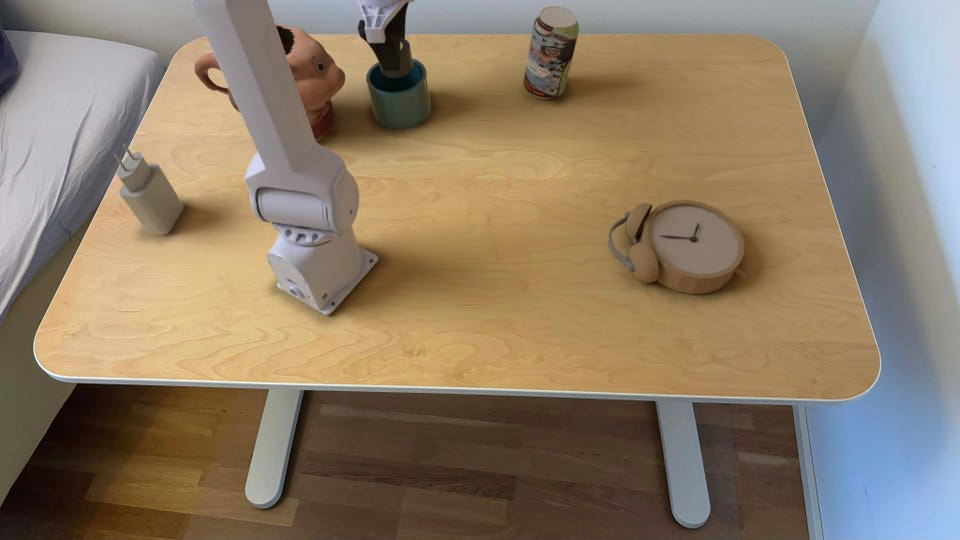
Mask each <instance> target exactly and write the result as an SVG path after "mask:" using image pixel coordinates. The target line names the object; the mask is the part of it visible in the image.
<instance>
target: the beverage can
mask: <svg viewBox="0 0 960 540" xmlns="http://www.w3.org/2000/svg"><path fill="white" fill-rule="evenodd" d="M579 33H580V26H579V23H578V16H577V15H576V13H574V12H573V10H571V9H569V8H566V7H562V6H557V5H555V6H551V5H550V6H547V7H544V8H543V9H541V11H540V12H539V14H538V15H537V16H536V18H535V19H534V22H533V27H532V33H531V38H530V44H529V48H528V55H527V60H526V66H525V71H524V77H523V86H524V88H525V90H526V91H527V92H528V93H530V94H531V95H533V96H534V97H535V98H539V99H543V100H550V99H554V98H558V97H560V96H561V95H562V94H564V92H565V91H566V86H567V83H568V79H569V75H570V71H571V66H572V61H573V57H574V53H575V49H576V45H577V41H578V37H579Z"/></svg>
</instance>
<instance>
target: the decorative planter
mask: <svg viewBox="0 0 960 540" xmlns="http://www.w3.org/2000/svg"><path fill="white" fill-rule="evenodd" d="M275 25H276V28H277V31H278V33H279V36H280V39H281V42H282V45H283V48H284V51H285V54H286V57H287V60H288V62H289V65H290V68H291V71H292V74H293V77H294V80H295V83H296V86H297V88H298V91H299V94H300V97H301V100H302V103H303V106H304V109H305V112H306V115H307V117H308V120H309V123H310V126H311V129H312V132H313V135H314V138H315V141H316V142H318V141H320V140H321V139H323V137H325V136H326V135H327V134H328V133H329V132H330V130H331V129H332V127H333V125H334V119H335V112H334V107H333V103H332V101H331V99H332V98H333V97H334V96H335V95H336V94H338V92H340V91H341V90H342V88H343V87H344V86H345V84H346V73H345V72H344V70H343V69H342V68H340V67H339V66H337V64H336V62H335V60H334V58H333V56H331V54H329V53H328V52H327V50H326V49H325V47H324V45H322V43H320V42H319V41H318V40H316V39H314V38H313V37H312V36H311V35H310V34H308V32H306V31H305V30H303V29H302V28H299V27H293V26H289V25H284V24H279V23H275ZM210 69H216V70H218V71H221V69H220V67H219V64H218V62H217V60H216V58H215V55H214V53H213V52H209V53H205V54H203V55H202V54H201V56H199V57H197V59H196V60H195V62H194V74H195V75H196V77H197V78H198V79H199V80H200V82H201V83H202V84H203V85H204V86H205V87H206V88H208V89H209V90H211V91H213V92H215V91H216V92H219V93H221V94H225V95H226V96H228V100H229V102H230V104H231V105H232V107H233V108H234V110H236V111H237V112H238V113H239V114H241V113H240V111H239V109H238V107H237V104H236V102H235V100H234V98H233V96H232V93H231V91H230V89H229V87H228V86H227V87H223V86H219V85H218V84H216V83H214V81H213V80H212V79H211V78H210V77H209V70H210Z"/></svg>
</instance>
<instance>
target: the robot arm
mask: <svg viewBox="0 0 960 540" xmlns="http://www.w3.org/2000/svg"><path fill="white" fill-rule="evenodd" d="M189 1H190V4H191V6H192V9H193V11H194V14H195V15H196V17H197V20H198V22H199V24H200V26H201V29H202V31H203V33H204V36H205V38H206V40H207V42H208V44H209V46H210V49H211V51H212V53H214V55H215V58H216V60H217V62H218V64H219V67H220V69H221V70H220V71H221V73H222V75H223V77H224V80H225V82H226V85H227V88H228V87H229V89H230V91H231V93H232V96H233V98H234V100H235V102H236V104H237V107H238V109H239V111H240V113H239V114H240V116H241V118H242V119H243V122H244V125H245V127H246V129H247V131H248V134H249V136H250V138H251V140H252V142H253V144H254V146H255V149H256V151H257V152H256V153H255V154H254V156H253V157H252V159H251V161H250V162H249V164H248V167H247V170H246V172H245V176H244V181H245V183H246V186H247V188H248V192H249V203H250V207H251V210H252V212H253V214H254V216H255V218H256V219H257V220H258V221H260V222H262V223H268V224H269V223H271V226H272V228H273V230H274V231H276V232H279V233H278V236H277V239H276V241H275V242H274V244H273V246H271V248H269V251H268V252H267V254H266V259H267V262H268V264H269V266H270V268H271V270H272V272H273V273H274V274H273V275H274V276H275V278H276V279H277V284H276V285H277V288H278V289H279V290H281V291H283V292H285V293H286V294H288V295H289V296H292V297H293V298H295V299H297V300H299V301H300V302H302V303H304V304H305V305H307V306H309V307H310V308H312V309H314V310H316V311H317V312H319V313H321V314H323V315H325V316H329V315H331V314H332V313H333V312H334V311H335V310H336V309H337V308H338V307H339V305H340V304H341V303H342V302H343V301H344V300H345V299H346V298H347V297H348V296H349V295H350V293H351V292H352V291H353V290H354V289H355V288H356V286H357V285H358V284H360V282H361V281H362V280H363V279H364V278H365V276H366V275H368V273H370V271H371V270H372V268H373V267H374V266H376V264H377V263H378V262H379V259H380V258H379V256H378V255H377V254H375V253H373V252H371V251H369V250H367V249H365V248H364V247H361V246H359V244H358V241H357V238H356V235H355V231H354V229H353V224H354V223H355V221H356V218H357V215H358V211H359V207H360V206H359V205H360V189H359V185H358V182H357V181H356V179H355V177H354V176H353V174H352V173H351V172H349V170H348V169H347V165H346V163H345V159H343V158H342V157H340V156H339V155H337V154H336V153H334V152H332V151H331V150H330V149H328V148H326V147H325V146H323V145H322V144H320V143H318V141H315V138H314V135H313V132H312V129H311V126H310V123H309V120H308V117H307V115H306V112H305V109H304V106H303V103H302V100H301V97H300V94H299V91H298V88H297V86H296V83H295V80H294V77H293V74H292V71H291V68H290V65H289V62H288V60H287V57H286V54H285V51H284V48H283V45H282V42H281V39H280V36H279V33H278V31H277V28H276V25H275V24H276V22H275V19H274V16H273V14H272V10H271V8H270V5H269V1H268V0H189ZM414 2H415V0H357V4H358V7H359V10H360V12H361V16H362V18H363V19H359V22H358V26H357V31H358V35H359V37H360V38H361V39H362V40H364V42H365V43H367V45H368V46H369V48H371V50H372V51H373V54H374V55H375V57H376V59H377V61H378V62H379V63H380V65H381V67H382V69H383V70H384V71H399V67H400V42H401V38H404V39H406V22H407V21H406V20H407V19H406V18H407V11H408V7H409V4H410V3H414Z"/></svg>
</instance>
